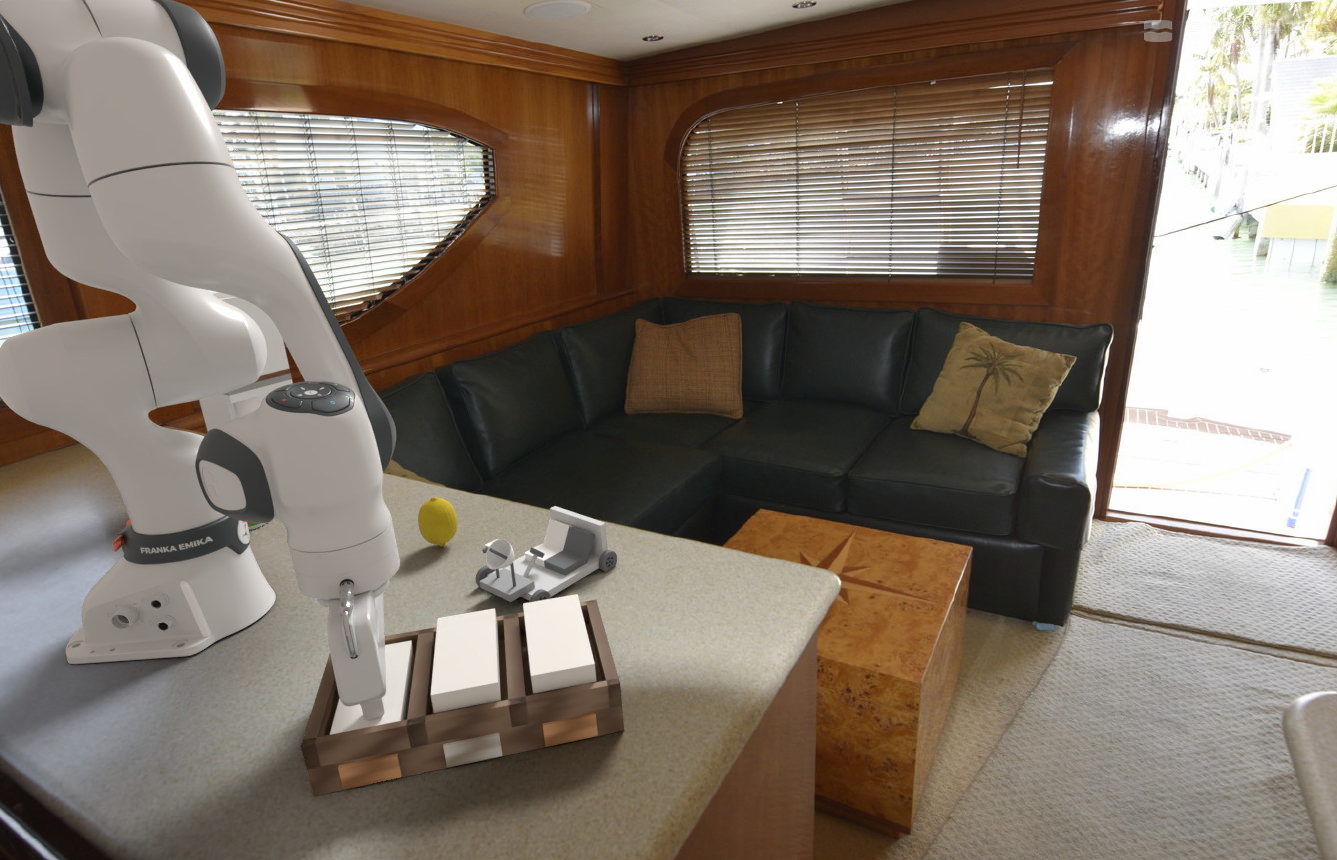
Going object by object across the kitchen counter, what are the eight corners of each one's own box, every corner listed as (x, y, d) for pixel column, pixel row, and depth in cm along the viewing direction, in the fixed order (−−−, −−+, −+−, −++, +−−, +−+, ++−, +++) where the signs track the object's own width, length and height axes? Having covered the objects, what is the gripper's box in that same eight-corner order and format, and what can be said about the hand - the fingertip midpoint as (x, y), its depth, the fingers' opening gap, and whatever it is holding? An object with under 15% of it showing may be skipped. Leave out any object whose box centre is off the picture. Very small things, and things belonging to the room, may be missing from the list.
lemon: (450, 555, 108) (442, 505, 106) (415, 554, 110) (406, 504, 107) (467, 538, 114) (459, 490, 111) (434, 536, 115) (425, 488, 112)
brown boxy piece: (312, 798, 66) (299, 749, 65) (342, 688, 81) (332, 645, 79) (624, 732, 72) (620, 685, 70) (600, 640, 87) (596, 599, 85)
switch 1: (333, 753, 67) (329, 735, 66) (355, 666, 79) (352, 650, 78) (403, 739, 68) (400, 721, 68) (414, 656, 80) (411, 640, 80)
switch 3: (533, 693, 70) (530, 676, 69) (525, 619, 82) (522, 603, 81) (596, 681, 71) (594, 663, 71) (579, 609, 83) (577, 594, 83)
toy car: (508, 557, 87) (449, 532, 94) (518, 628, 91) (460, 599, 98) (613, 502, 101) (554, 484, 108) (618, 567, 104) (560, 545, 111)
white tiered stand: (255, 499, 133) (205, 302, 121) (223, 489, 138) (172, 299, 127) (313, 476, 142) (272, 291, 130) (281, 468, 147) (238, 289, 136)
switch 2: (434, 713, 68) (430, 695, 68) (440, 634, 80) (437, 618, 80) (500, 700, 70) (498, 682, 69) (497, 624, 82) (494, 608, 81)
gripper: (385, 605, 60) (414, 744, 65) (381, 510, 78) (403, 623, 83) (300, 625, 58) (335, 767, 63) (316, 522, 76) (343, 638, 81)
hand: (374, 684), depth 73 cm, fingers open, 8 cm apart
